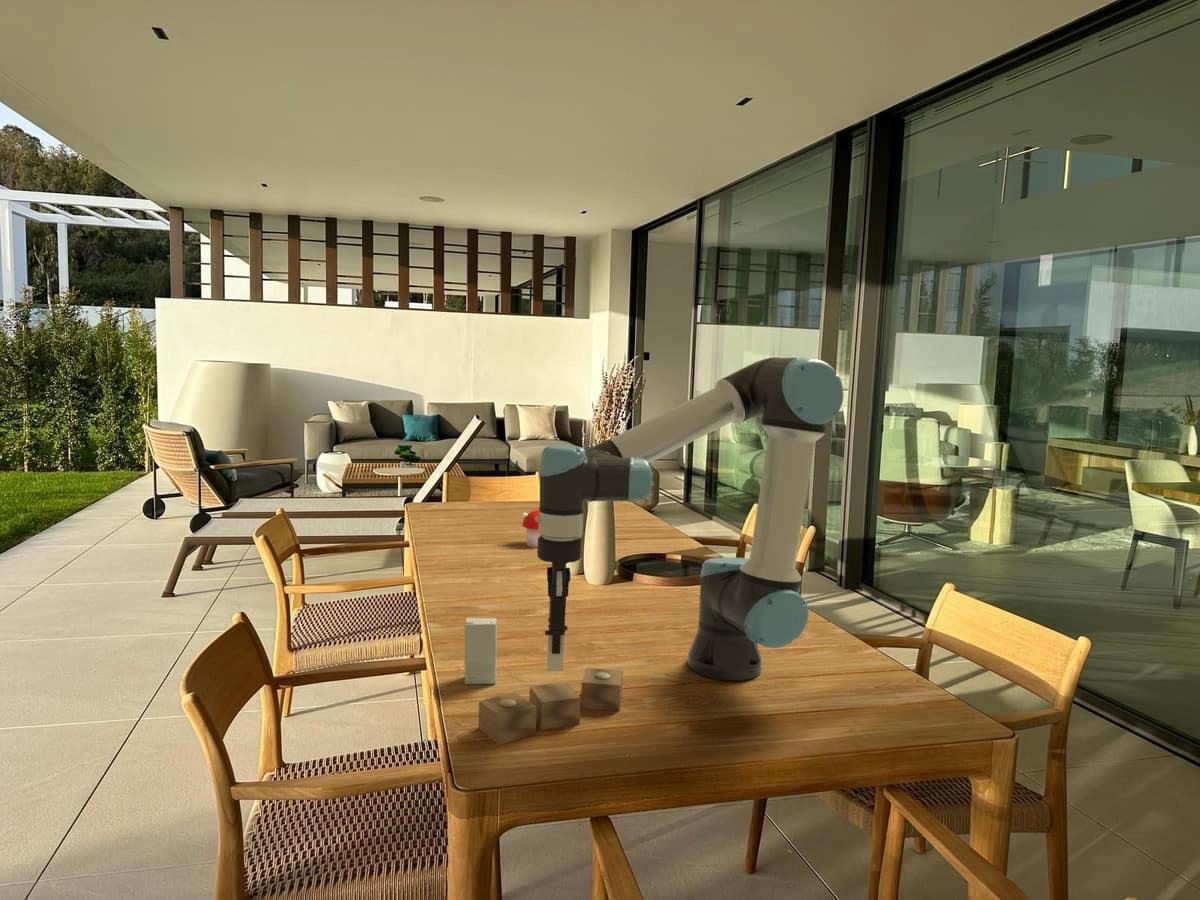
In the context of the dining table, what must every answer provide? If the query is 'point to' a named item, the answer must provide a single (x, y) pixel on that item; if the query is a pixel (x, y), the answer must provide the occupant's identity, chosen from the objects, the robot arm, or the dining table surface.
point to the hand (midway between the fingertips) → (554, 668)
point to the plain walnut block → (555, 705)
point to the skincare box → (480, 651)
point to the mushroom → (531, 528)
